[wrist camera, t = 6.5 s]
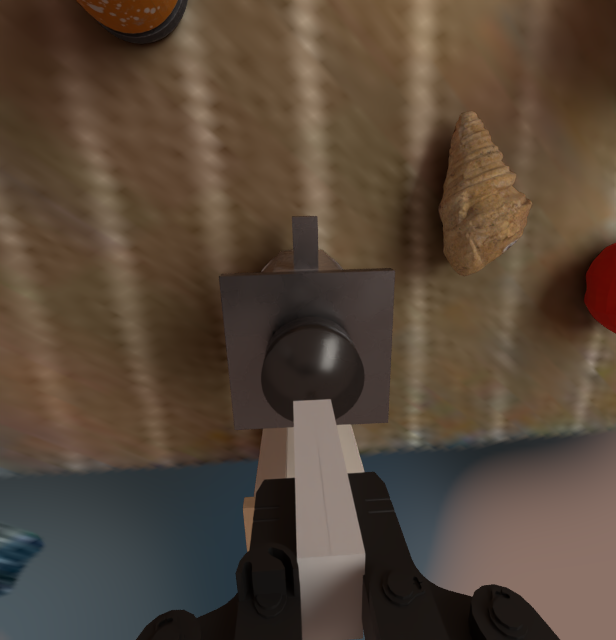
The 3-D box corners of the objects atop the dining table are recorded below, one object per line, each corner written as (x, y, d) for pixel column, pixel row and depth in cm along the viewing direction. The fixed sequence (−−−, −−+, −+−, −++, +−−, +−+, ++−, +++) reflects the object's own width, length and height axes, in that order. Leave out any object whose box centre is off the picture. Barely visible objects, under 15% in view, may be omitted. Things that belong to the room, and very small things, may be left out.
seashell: (403, 136, 33) (436, 113, 25) (486, 107, 33) (545, 74, 25) (433, 272, 37) (469, 286, 29) (507, 247, 37) (564, 256, 29)
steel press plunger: (269, 341, 35) (251, 440, 20) (264, 270, 33) (240, 318, 17) (340, 338, 35) (377, 433, 20) (340, 267, 33) (381, 312, 18)
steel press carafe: (257, 344, 39) (234, 429, 23) (248, 217, 35) (213, 219, 19) (350, 340, 39) (387, 422, 24) (351, 214, 35) (397, 214, 20)
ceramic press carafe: (268, 491, 44) (256, 636, 29) (261, 397, 40) (242, 508, 25) (349, 487, 45) (378, 628, 30) (349, 393, 41) (384, 500, 26)
